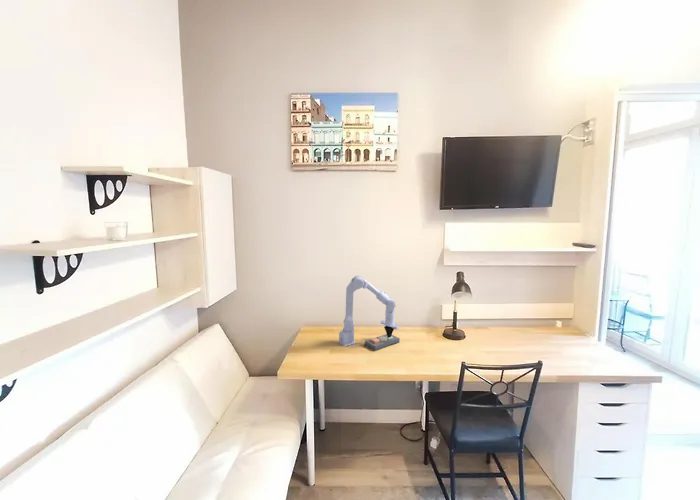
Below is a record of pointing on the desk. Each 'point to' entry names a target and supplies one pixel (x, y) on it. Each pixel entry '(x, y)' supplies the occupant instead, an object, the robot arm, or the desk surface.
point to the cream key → (382, 338)
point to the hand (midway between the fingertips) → (389, 337)
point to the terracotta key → (375, 340)
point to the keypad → (382, 343)
